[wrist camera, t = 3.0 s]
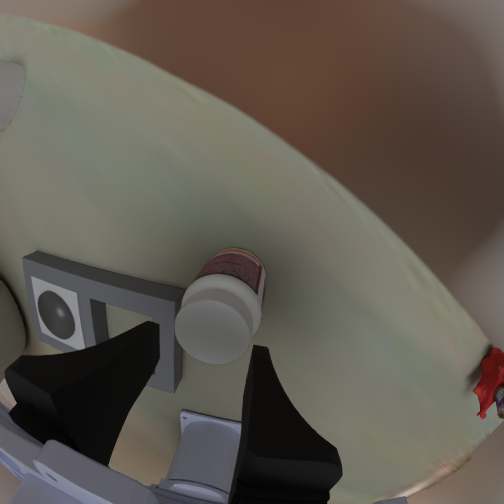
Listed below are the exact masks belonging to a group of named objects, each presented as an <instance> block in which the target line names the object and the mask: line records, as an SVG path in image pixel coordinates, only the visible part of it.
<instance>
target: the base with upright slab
mask: <svg viewBox="0 0 504 504" xmlns="http://www.w3.org/2000/svg"><path fill="white" fill-rule="evenodd" d="M24 82H25V71H24V68H23V66H22V65H20V64H17V63H13V62H9V61H5V60H0V131H2V130H3V129H4V128H5V127H6V126H7V125H8V124H9V123H10V121H11V119H12V118H13V116H14V114H15V112H16V110H17V108H18V105H19V102H20V99H21V97H22V93H23V89H24Z"/></svg>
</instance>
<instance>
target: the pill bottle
mask: <svg viewBox="0 0 504 504" xmlns="http://www.w3.org/2000/svg"><path fill="white" fill-rule="evenodd" d="M265 287H266V273H265V270H264V267H263V265H262V263H261V262H260V260H259V259H258V258H257V257H256V256H255V255H253V254H252V253H250V252H248V251H246V250H243V249H238V248H229V249H225V250H222V251H220V252H218V253H216V254H215V255H214V256H213V257H212V258H211V259H210V260H209V261H208V263H207V264H206V265H205V267H204V268H203V269H202V271H201V272H200V273H199V274H198V276H197V277H196V278H195V280H194V281H193V282H192V283H191V284H190V286H189V287H188V289H187V290H186V292H185V294H184V296H183V299H182V305H181V309H180V311H179V313H178V314H177V316H176V319H175V325H174V329H175V335H176V338H177V340H178V342H179V344H180V345H181V347H182V348H183V349H184V350H185V351H186V352H187V353H188V354H189V355H191V356H192V357H193V358H195V359H197V360H199V361H202V362H205V363H209V364H215V365H221V364H228V363H232V362H234V361H236V360H238V359H239V358H240V357H242V356H243V355H244V354H245V352H246V351H247V349H248V347H249V345H250V342H251V337H252V336H253V335H254V334H255V333H256V331H257V330H258V328H259V326H260V324H261V320H262V311H263V303H264V295H265Z"/></svg>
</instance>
